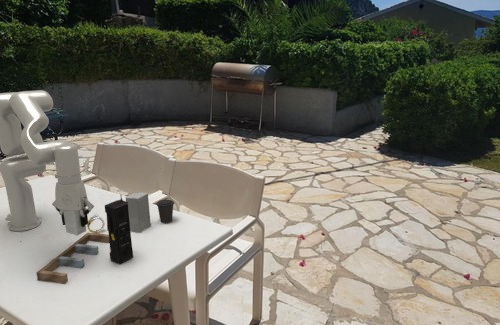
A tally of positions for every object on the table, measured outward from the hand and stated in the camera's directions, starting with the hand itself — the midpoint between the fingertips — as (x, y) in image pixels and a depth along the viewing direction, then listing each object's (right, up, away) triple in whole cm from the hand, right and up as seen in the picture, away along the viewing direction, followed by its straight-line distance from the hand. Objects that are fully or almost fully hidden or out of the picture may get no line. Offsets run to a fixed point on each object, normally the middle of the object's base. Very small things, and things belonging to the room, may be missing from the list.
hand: (75, 224), depth 136 cm
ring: (-2, -8, +25) cm, 26 cm away
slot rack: (-1, -14, +4) cm, 15 cm away
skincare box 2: (+15, -7, +30) cm, 34 cm away
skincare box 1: (0, -3, +1) cm, 3 cm away
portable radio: (+15, -14, +5) cm, 21 cm away
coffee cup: (+25, -5, +37) cm, 45 cm away
